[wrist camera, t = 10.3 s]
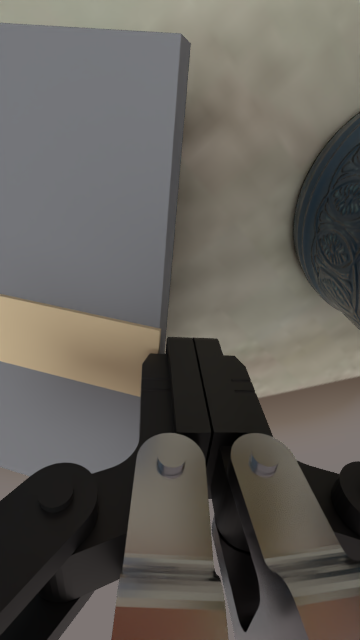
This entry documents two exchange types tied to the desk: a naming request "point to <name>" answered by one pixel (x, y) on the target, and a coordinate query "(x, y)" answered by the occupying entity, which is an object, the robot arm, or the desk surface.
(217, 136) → the desk surface
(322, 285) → the canister
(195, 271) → the desk surface
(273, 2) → the desk surface
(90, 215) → the lid
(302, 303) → the desk surface
